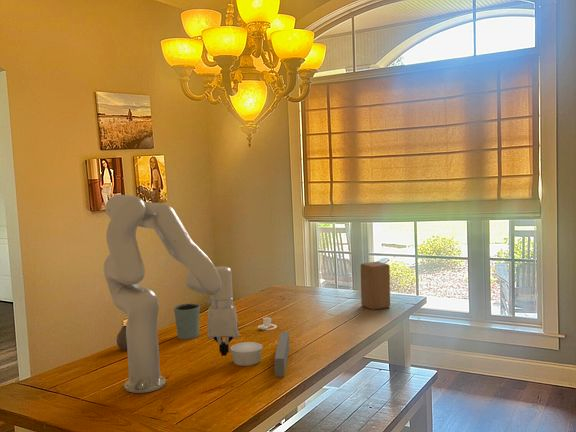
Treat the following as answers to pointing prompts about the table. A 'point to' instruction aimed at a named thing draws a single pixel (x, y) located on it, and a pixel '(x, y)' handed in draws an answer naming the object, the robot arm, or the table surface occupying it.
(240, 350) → the ramekin
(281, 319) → the table surface
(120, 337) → the vase
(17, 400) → the table surface
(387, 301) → the wooden block
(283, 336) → the board
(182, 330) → the blue-grey plant pot
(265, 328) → the white ring with peg
